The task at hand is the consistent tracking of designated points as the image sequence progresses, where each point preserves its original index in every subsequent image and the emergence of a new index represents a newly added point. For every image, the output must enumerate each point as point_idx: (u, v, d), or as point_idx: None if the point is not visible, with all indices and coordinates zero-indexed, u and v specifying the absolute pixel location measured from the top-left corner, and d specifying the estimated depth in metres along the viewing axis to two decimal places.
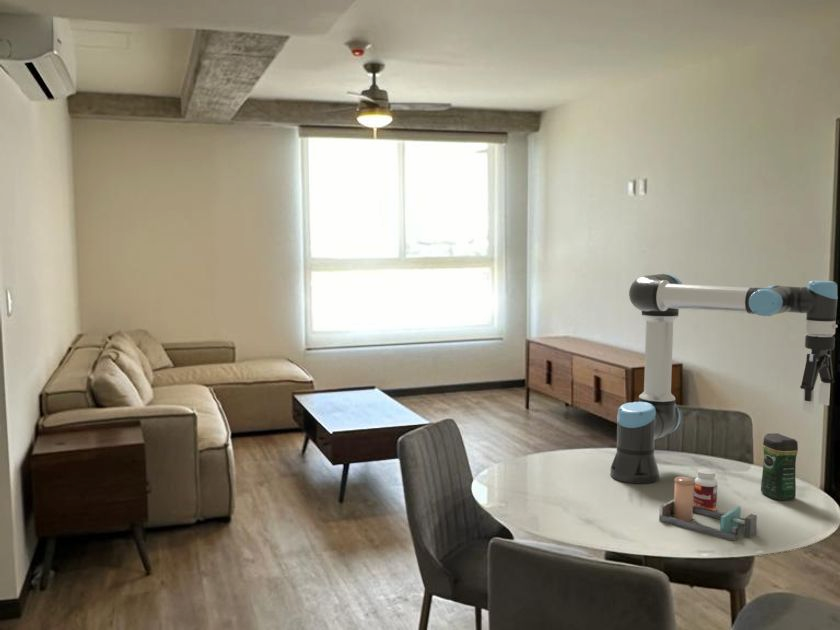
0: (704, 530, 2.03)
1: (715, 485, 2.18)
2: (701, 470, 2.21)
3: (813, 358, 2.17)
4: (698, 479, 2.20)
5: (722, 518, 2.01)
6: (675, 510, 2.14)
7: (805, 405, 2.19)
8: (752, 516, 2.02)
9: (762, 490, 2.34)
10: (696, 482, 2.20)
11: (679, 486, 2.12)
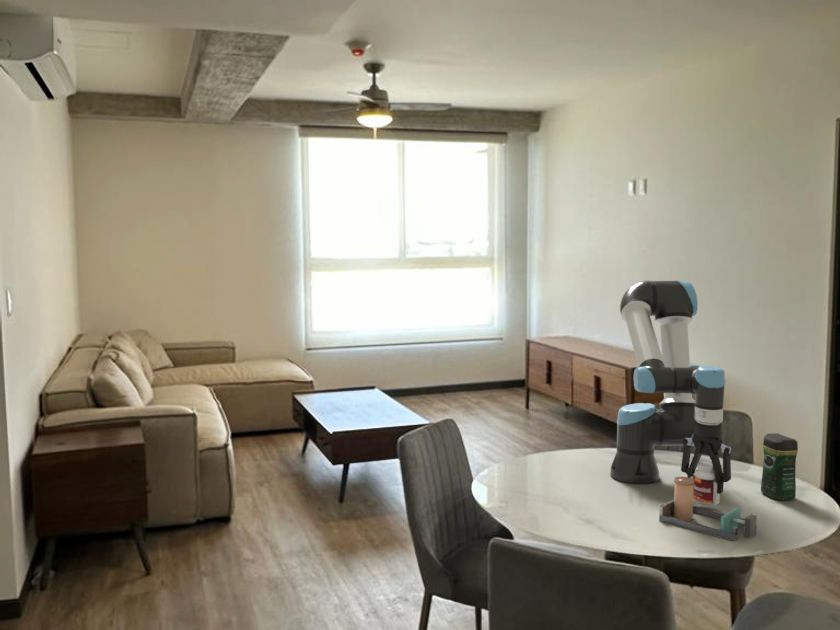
0: (704, 530, 2.03)
1: (715, 478, 2.19)
2: (701, 464, 2.21)
3: None
4: (698, 472, 2.20)
5: (722, 518, 2.01)
6: (675, 510, 2.14)
7: None
8: (752, 516, 2.02)
9: (762, 490, 2.34)
10: (696, 475, 2.20)
11: (678, 486, 2.12)
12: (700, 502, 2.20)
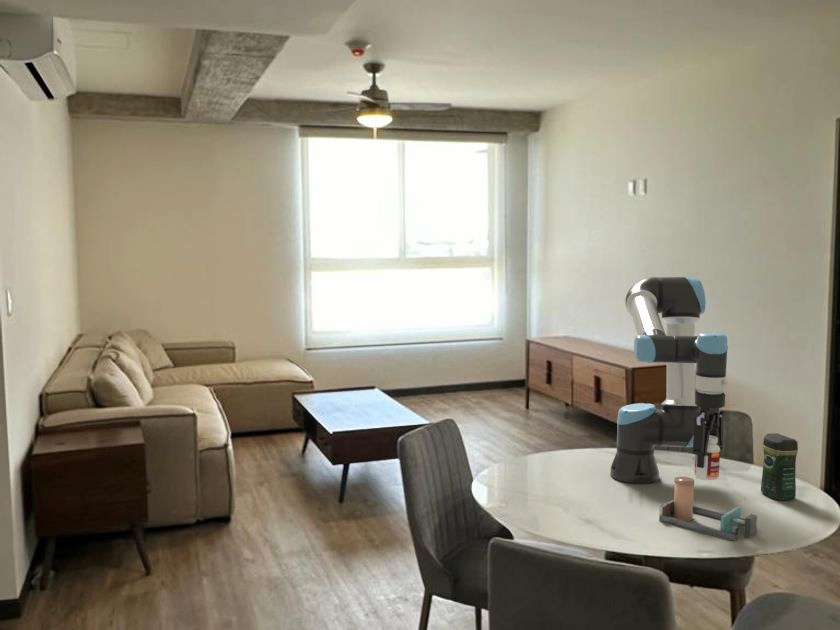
0: (704, 530, 2.03)
1: None
2: None
3: (700, 423, 2.02)
4: (713, 447, 2.06)
5: (722, 518, 2.01)
6: (675, 510, 2.14)
7: (698, 471, 2.06)
8: (752, 516, 2.02)
9: (762, 490, 2.34)
10: (714, 451, 2.05)
11: (678, 486, 2.12)
12: (717, 477, 2.07)
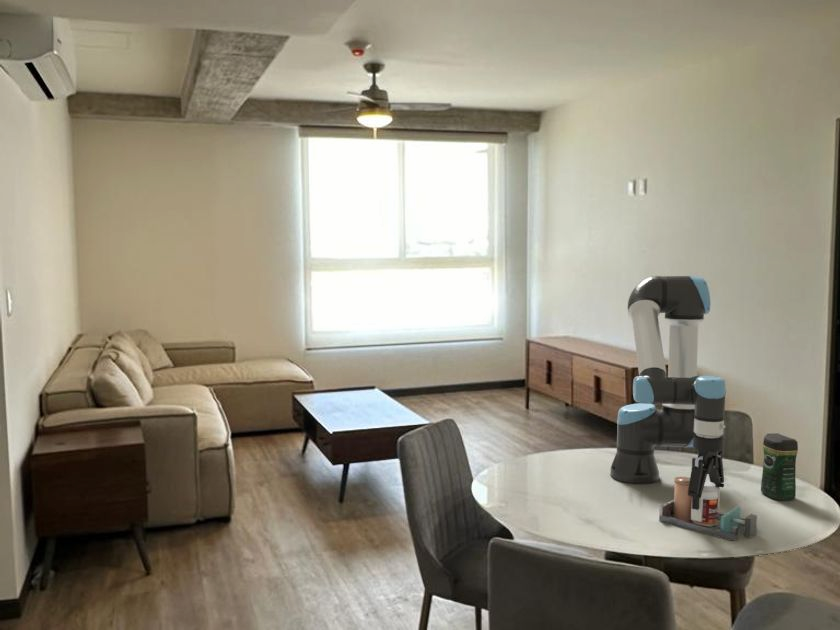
0: (704, 530, 2.03)
1: None
2: (706, 485, 2.08)
3: (698, 464, 2.03)
4: (711, 494, 2.07)
5: (722, 518, 2.01)
6: (675, 510, 2.14)
7: (693, 513, 2.06)
8: (752, 516, 2.02)
9: (762, 490, 2.34)
10: (712, 498, 2.07)
11: (679, 486, 2.12)
12: (715, 523, 2.08)
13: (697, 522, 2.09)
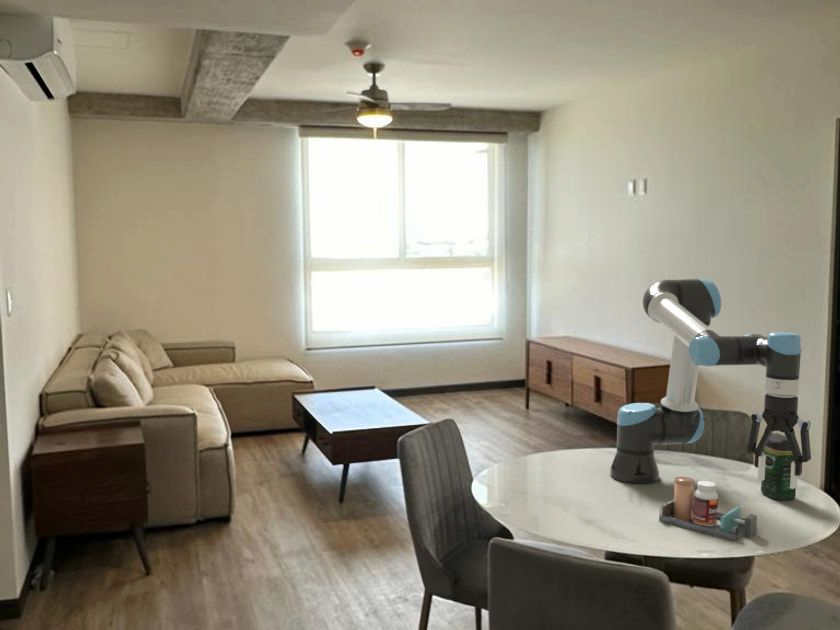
0: (704, 530, 2.03)
1: None
2: (706, 485, 2.08)
3: None
4: (711, 494, 2.07)
5: (722, 518, 2.01)
6: (675, 510, 2.14)
7: None
8: (752, 516, 2.02)
9: (762, 490, 2.34)
10: (712, 498, 2.07)
11: (678, 486, 2.12)
12: (715, 523, 2.08)
13: (697, 522, 2.09)
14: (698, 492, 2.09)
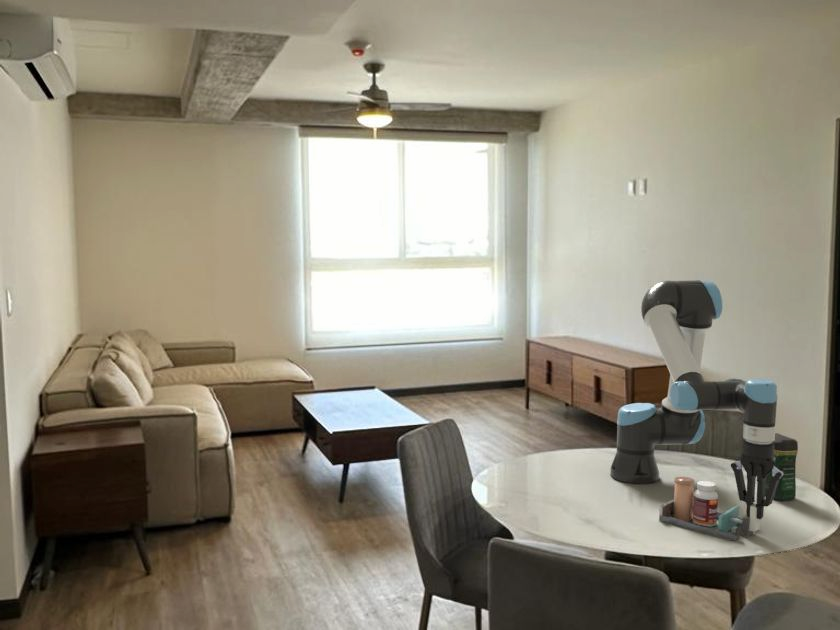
0: (704, 530, 2.03)
1: None
2: (706, 485, 2.08)
3: None
4: (711, 494, 2.07)
5: (720, 517, 2.02)
6: (675, 510, 2.14)
7: None
8: None
9: None
10: (712, 498, 2.07)
11: (679, 486, 2.12)
12: (715, 523, 2.08)
13: (697, 522, 2.09)
14: (697, 492, 2.09)
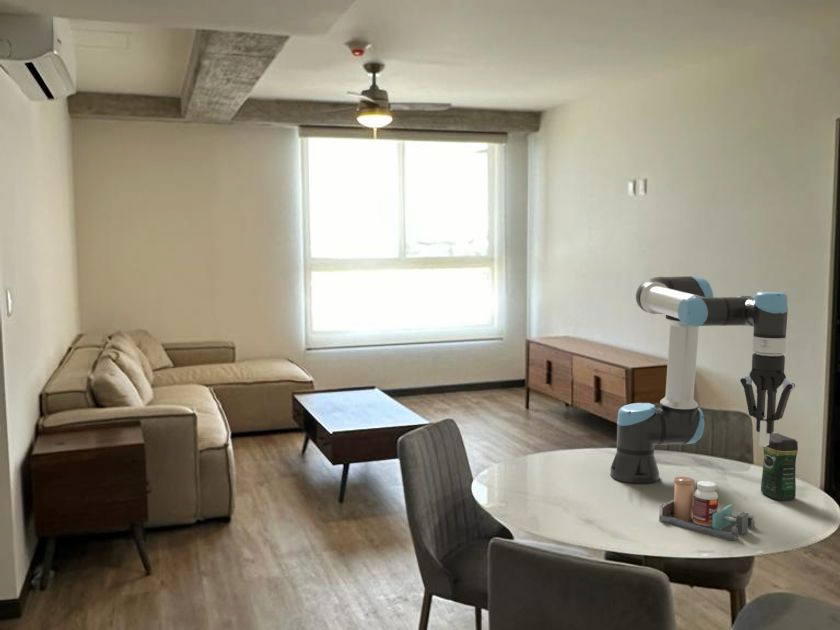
0: (704, 530, 2.03)
1: None
2: (706, 485, 2.08)
3: None
4: (711, 494, 2.07)
5: (714, 516, 2.03)
6: (675, 510, 2.14)
7: None
8: (743, 514, 2.03)
9: (762, 490, 2.34)
10: (712, 498, 2.07)
11: (678, 486, 2.12)
12: None
13: (697, 522, 2.09)
14: (697, 492, 2.09)
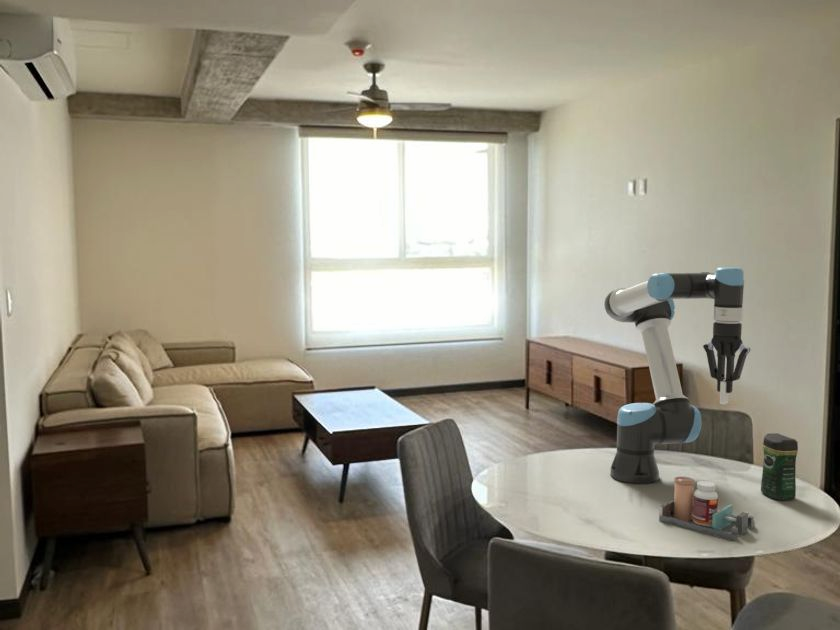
0: (704, 530, 2.03)
1: None
2: (706, 485, 2.08)
3: None
4: (711, 494, 2.07)
5: (714, 516, 2.03)
6: (675, 510, 2.14)
7: None
8: (743, 514, 2.03)
9: (762, 490, 2.34)
10: (712, 498, 2.07)
11: (679, 486, 2.12)
12: None
13: (697, 522, 2.09)
14: (697, 492, 2.09)
